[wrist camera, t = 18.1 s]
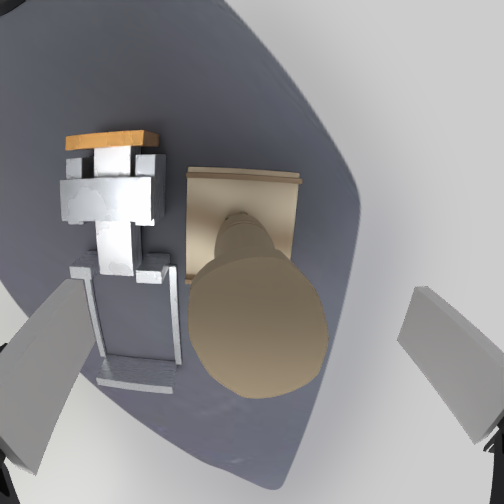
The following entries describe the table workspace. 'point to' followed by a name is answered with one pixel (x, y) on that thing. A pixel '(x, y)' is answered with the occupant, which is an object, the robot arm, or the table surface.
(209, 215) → the tan base plate
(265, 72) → the table surface
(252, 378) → the handle
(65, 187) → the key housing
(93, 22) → the table surface
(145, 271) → the silver rectangular frame
